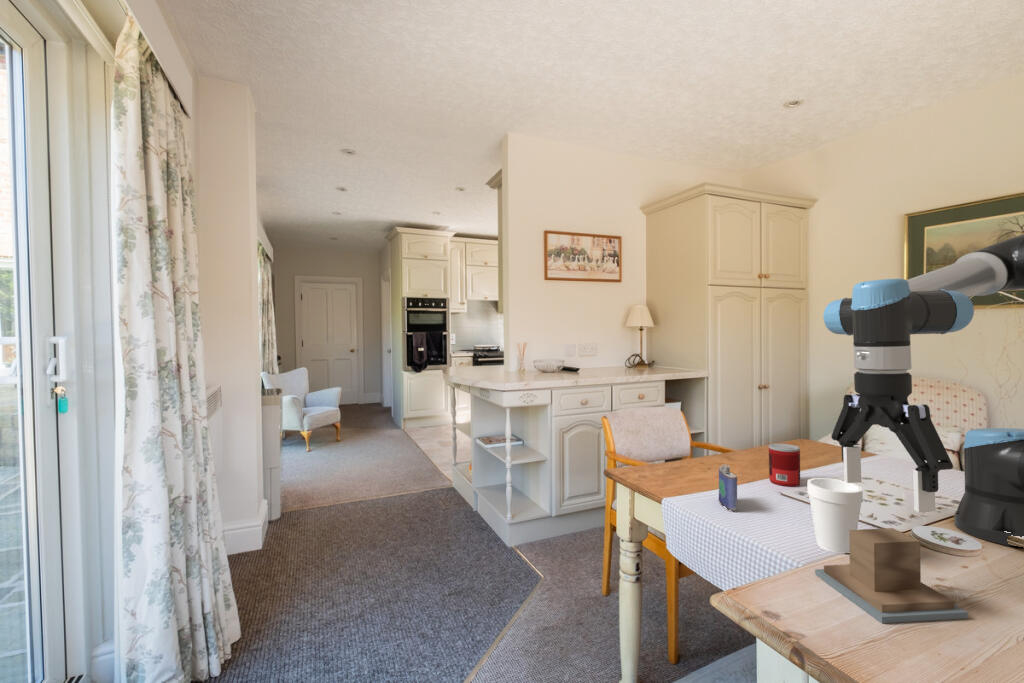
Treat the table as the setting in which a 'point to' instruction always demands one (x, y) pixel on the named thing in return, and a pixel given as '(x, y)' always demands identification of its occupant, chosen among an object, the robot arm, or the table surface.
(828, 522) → the foam cup
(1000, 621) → the table surface
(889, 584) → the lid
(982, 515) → the robot arm
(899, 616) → the mat
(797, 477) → the canned food
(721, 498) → the flask
